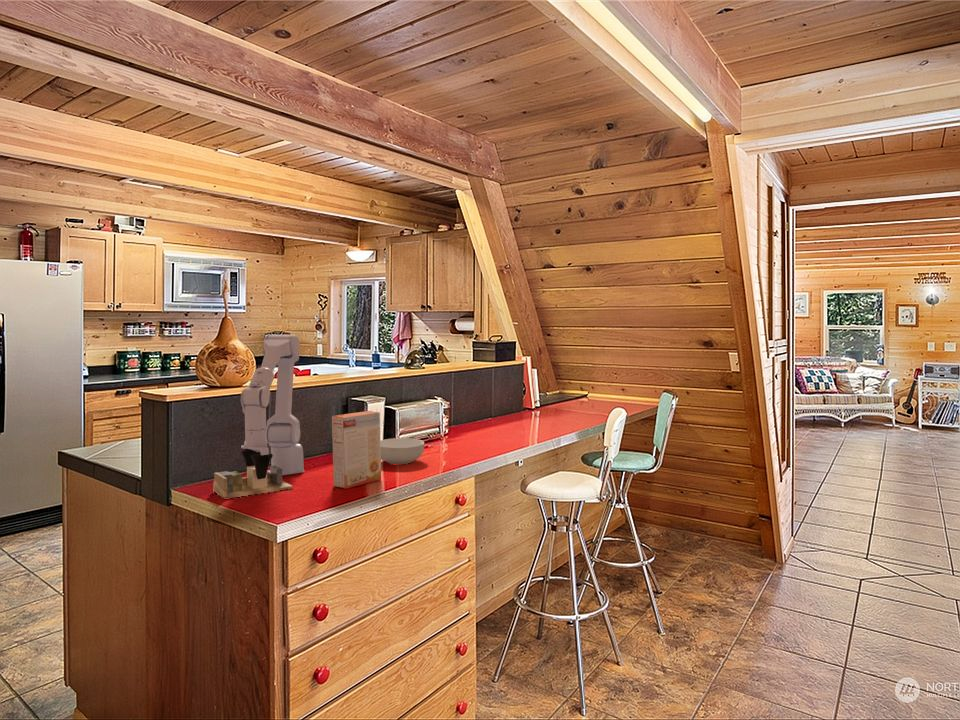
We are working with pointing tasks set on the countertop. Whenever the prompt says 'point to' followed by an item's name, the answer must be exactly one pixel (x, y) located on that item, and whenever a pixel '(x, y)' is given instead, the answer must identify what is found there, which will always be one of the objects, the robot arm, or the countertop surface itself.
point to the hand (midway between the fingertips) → (256, 476)
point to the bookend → (276, 474)
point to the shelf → (242, 485)
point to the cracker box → (356, 449)
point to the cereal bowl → (401, 450)
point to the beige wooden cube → (255, 479)
